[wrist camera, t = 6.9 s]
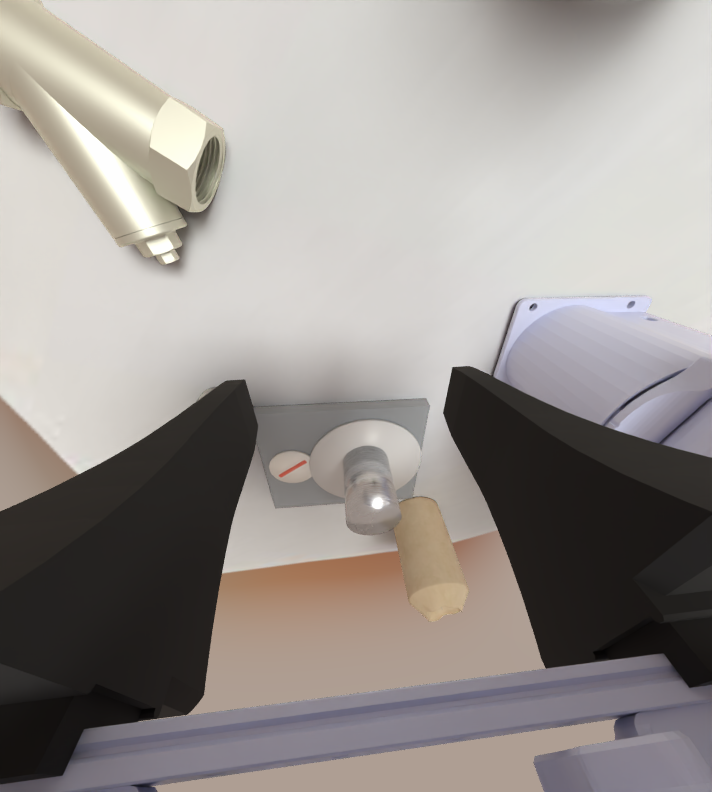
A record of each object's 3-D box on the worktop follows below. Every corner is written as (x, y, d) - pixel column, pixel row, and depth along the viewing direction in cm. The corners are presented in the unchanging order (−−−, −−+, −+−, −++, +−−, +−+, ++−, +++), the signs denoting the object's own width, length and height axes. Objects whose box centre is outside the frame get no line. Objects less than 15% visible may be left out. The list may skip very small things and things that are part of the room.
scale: (426, 398, 23) (431, 408, 22) (409, 490, 30) (413, 501, 28) (252, 407, 22) (248, 418, 21) (276, 499, 29) (274, 511, 28)
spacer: (383, 440, 23) (396, 497, 19) (391, 471, 25) (405, 528, 21) (337, 452, 23) (339, 510, 19) (349, 480, 26) (354, 539, 21)
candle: (407, 529, 34) (433, 632, 26) (381, 511, 32) (400, 619, 23) (446, 510, 32) (486, 613, 24) (422, 489, 30) (457, 597, 22)
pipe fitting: (200, 266, 17) (233, 133, 13) (169, 286, 13) (200, 120, 10) (30, 178, 14) (13, -21, 10) (-58, 179, 11) (-125, -104, 7)
